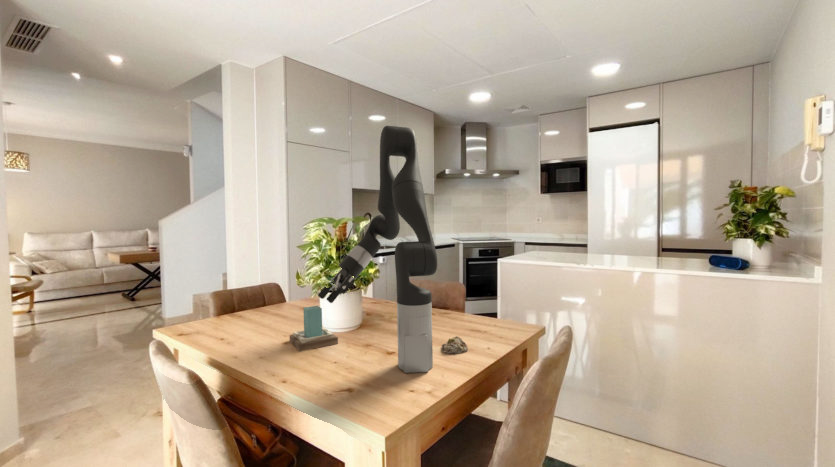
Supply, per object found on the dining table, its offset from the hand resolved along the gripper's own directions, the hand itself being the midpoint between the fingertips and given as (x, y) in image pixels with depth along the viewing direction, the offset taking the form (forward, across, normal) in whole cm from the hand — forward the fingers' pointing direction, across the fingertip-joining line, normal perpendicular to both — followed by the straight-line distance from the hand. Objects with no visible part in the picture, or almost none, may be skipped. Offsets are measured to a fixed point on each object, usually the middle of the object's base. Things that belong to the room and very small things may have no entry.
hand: (324, 299), depth 124 cm
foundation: (+12, 0, +7) cm, 14 cm away
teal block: (+11, 0, +5) cm, 12 cm away
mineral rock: (-11, +31, +31) cm, 45 cm away
